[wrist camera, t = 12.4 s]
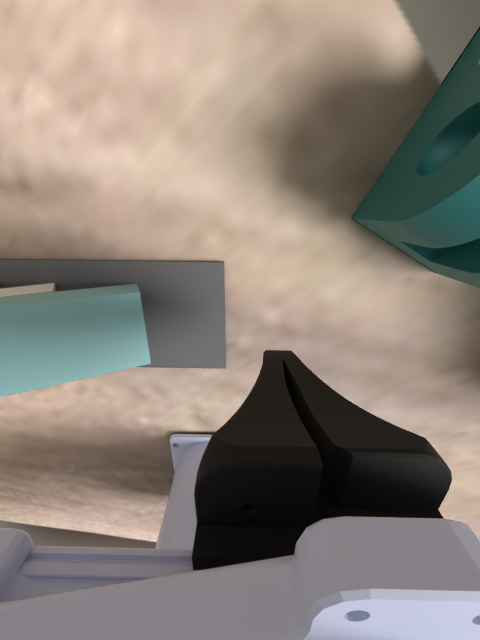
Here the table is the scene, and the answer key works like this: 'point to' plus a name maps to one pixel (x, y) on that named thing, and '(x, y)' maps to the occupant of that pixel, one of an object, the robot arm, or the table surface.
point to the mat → (149, 301)
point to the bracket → (436, 180)
